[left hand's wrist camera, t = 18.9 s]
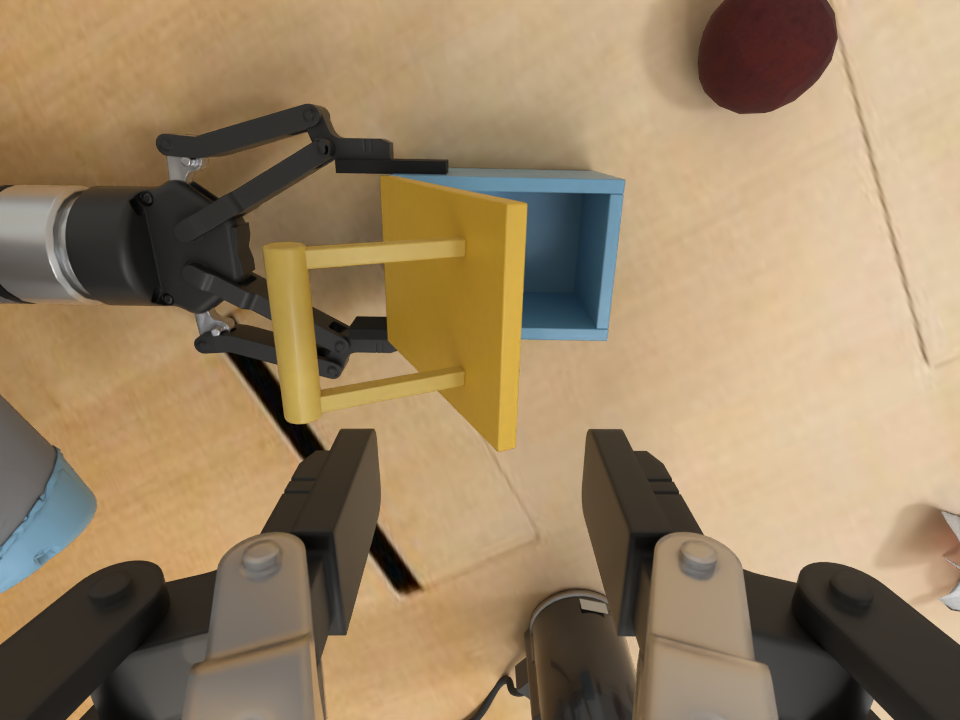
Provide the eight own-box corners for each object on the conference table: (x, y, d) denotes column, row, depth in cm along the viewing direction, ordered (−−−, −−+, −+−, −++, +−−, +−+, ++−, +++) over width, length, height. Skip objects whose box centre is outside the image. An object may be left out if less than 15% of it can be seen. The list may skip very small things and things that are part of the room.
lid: (528, 202, 19) (270, 212, 15) (516, 448, 22) (305, 502, 19) (394, 175, 31) (231, 177, 27) (400, 339, 34) (258, 359, 31)
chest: (593, 170, 40) (625, 179, 31) (581, 300, 43) (607, 341, 35) (408, 166, 40) (388, 174, 31) (412, 297, 43) (395, 337, 35)
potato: (735, -35, 35) (794, -75, 28) (819, 43, 37) (893, 22, 30) (658, 72, 37) (697, 57, 31) (741, 140, 39) (794, 141, 32)
